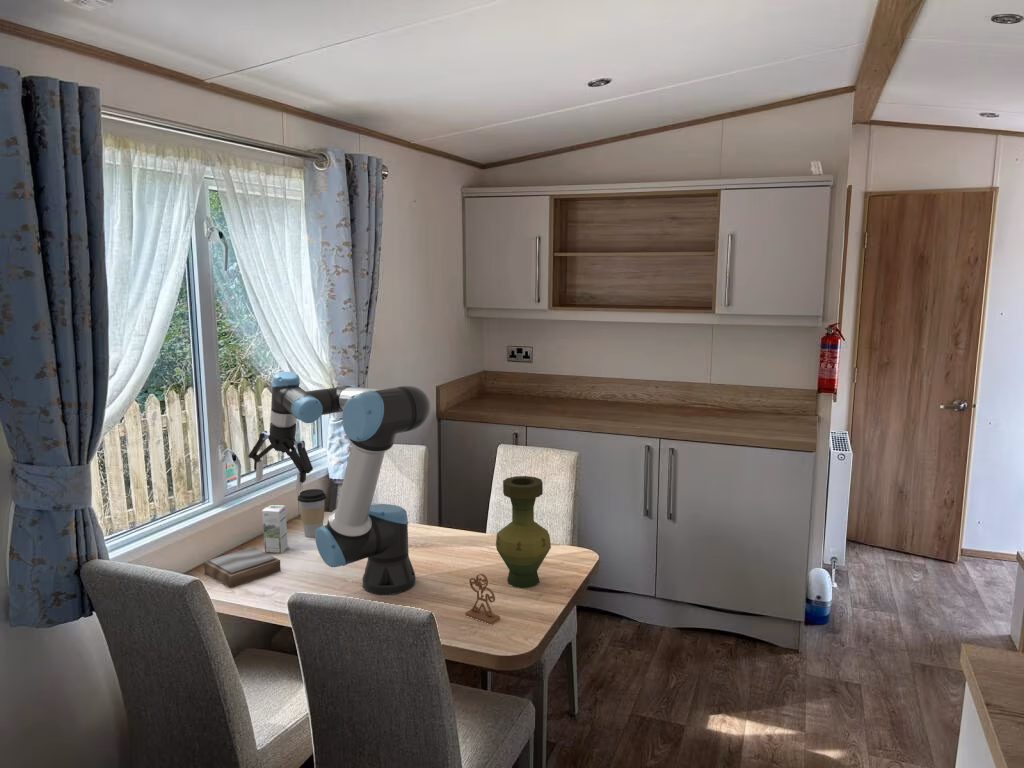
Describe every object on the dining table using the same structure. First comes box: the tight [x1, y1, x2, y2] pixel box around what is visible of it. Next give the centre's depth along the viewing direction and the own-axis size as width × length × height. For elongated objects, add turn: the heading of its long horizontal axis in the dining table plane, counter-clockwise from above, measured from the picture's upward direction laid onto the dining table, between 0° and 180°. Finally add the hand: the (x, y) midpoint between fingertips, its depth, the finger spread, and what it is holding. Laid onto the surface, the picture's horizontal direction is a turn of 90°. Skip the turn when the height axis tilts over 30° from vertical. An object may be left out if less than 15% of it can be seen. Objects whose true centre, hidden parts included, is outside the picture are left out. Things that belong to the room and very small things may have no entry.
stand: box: [203, 546, 282, 589], centre depth 229 cm, size 16×16×4 cm
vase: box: [495, 475, 552, 589], centre depth 218 cm, size 16×16×30 cm
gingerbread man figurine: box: [464, 573, 501, 625], centre depth 198 cm, size 9×4×12 cm, turn 54°
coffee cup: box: [297, 488, 327, 539], centre depth 258 cm, size 9×9×15 cm
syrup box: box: [261, 504, 289, 554], centre depth 245 cm, size 6×6×14 cm
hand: (279, 485), depth 234 cm, fingers open, 13 cm apart
